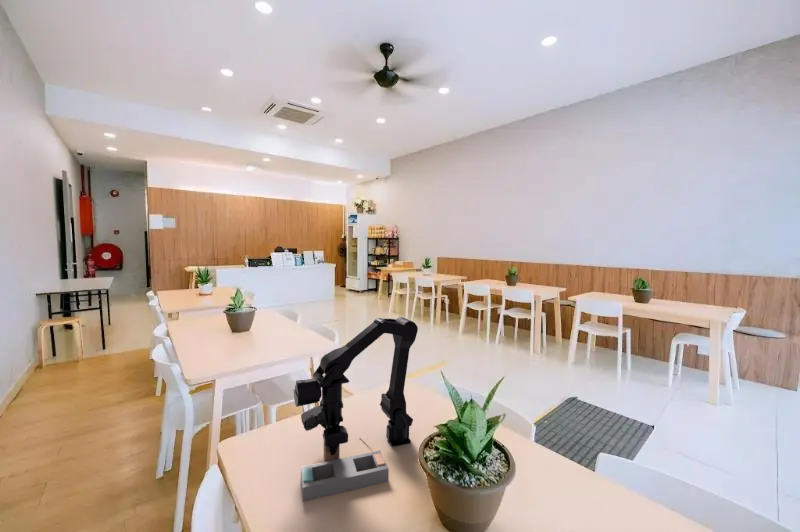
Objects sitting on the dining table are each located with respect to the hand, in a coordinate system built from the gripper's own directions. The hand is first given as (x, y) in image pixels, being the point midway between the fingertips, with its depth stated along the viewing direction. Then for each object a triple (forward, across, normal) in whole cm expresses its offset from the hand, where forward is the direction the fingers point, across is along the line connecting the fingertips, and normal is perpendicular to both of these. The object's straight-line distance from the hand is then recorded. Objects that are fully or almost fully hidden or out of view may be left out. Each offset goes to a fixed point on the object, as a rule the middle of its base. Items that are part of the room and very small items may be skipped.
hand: (331, 450), depth 97 cm
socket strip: (+2, +10, +2) cm, 10 cm away
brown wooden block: (+2, 0, 0) cm, 2 cm away
